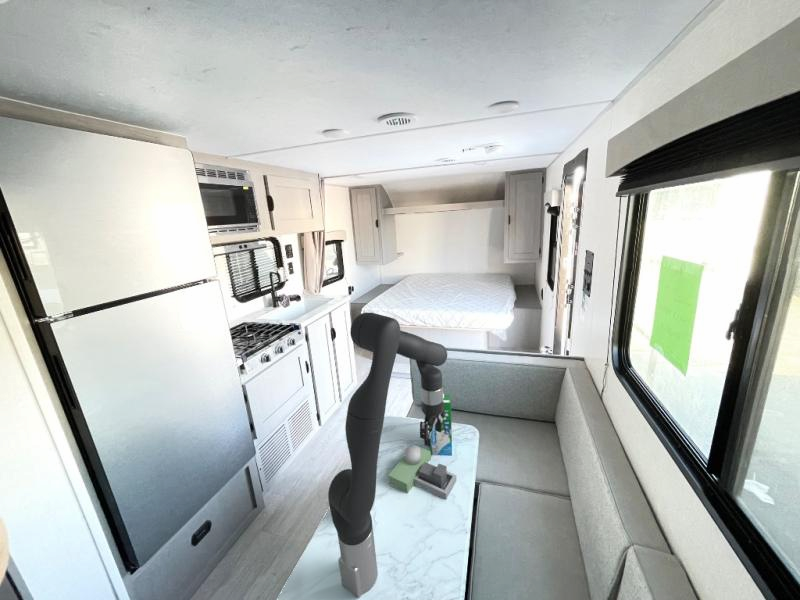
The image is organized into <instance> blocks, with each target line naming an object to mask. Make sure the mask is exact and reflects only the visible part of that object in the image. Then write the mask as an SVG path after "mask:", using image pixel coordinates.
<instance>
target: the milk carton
mask: <svg viewBox="0 0 800 600" xmlns="http://www.w3.org/2000/svg"><path fill="white" fill-rule="evenodd" d="M450 395H451V394H444V393H443V404H444V409H445V417H444V418H443V422H442V431H441V432H438V431H436V429H435V427H434V431H433V432H432V433H431V446H430V447H429V451H431V456H453V438H452V437H453V436H452V434H453V433H452V428H453V427H452V399H451V396H450ZM441 414H442V413H441ZM428 428H431V426H429V427H428Z"/></svg>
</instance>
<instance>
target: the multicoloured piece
mask: <svg viewBox="0 0 800 600" xmlns="http://www.w3.org/2000/svg"><path fill="white" fill-rule="evenodd" d="M431 456H432V455H431V451H430V450H427V449H425V448H423V447H420V446H418V445H416V444H412V445H408V446H406V448H405V450H404V455H403V457H402V458H401V459H400V460H399V462H398V463H397V464H396V466H395V467H394V468H393V469H392V470H391V472H390V473H389V474H388V483H389V485H390V484H391V485H390V486H392V485H393V486H392V487H394V486H395V488H396V487H397V489H398V488H399V490H400V489H401V491H402V490H403V491H402V492H404V491H405V493H406V492H407V493H406V494H409V492H410V491H411V489H412V488H413V486H414V485H415V484H416V485H415V486H417V485H418V486H417V487H419V486H420V487H419V488H421V487H422V488H421V489H423V488H424V489H423V490H425V489H426V490H425V491H427V490H429V491H428V492H429V493H432V494H434V495H435V496H438V497H441V498H442V497H443V499H444V500H447V499H448V497H449V495H450V493H451V491H452V490H453V488H454V487H455V484H456V482H457V474H454V473H452V472H450V471H447V480H449V481H448V484H447V486H446V487H445V489H444V488H443V489H441V488H438V487H436V486H434V485H432V484H430V483H428V482H425V481H423V480H421V479H419V470H420V468H421V467H422V465H423V464H424V462H426V463H428V462H429V461H430V462H431V460H432V459H431V458H432V457H431ZM430 462H429V463H428V464H430ZM413 484H414V485H413ZM411 487H412V488H411ZM409 490H410V491H409Z"/></svg>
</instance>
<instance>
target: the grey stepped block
mask: <svg viewBox="0 0 800 600" xmlns="http://www.w3.org/2000/svg"><path fill="white" fill-rule="evenodd" d="M447 472H448V471H447V465H444V464H441V463H438V464H437V466H436V465H433V464H431V463H429V464H428V463H426V462H424V464H423V465H422V467H421V468H420V470H419V479H421V480H423V481H425V482H428V483H430V484H432V485H434V486H436V487H438V488H441V489H443V490H444V488H445V486H446V484H447V482H448V481H447V480H448V479H447ZM443 487H444V488H443Z"/></svg>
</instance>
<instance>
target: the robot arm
mask: <svg viewBox="0 0 800 600" xmlns="http://www.w3.org/2000/svg"><path fill="white" fill-rule="evenodd" d="M349 333H350V337H351V340H352V342H353V343H354V345H355V346H357V347H359V348H360V349H363V350H365V351H368V352H371V353H372V361H371V366H370V369H369V373H368V374H367V376H366V378H365V379H364V380H363V382H362V383H361V384H360V385H359V387H358V388H357V389H356V390H355V391H354V393H353V394H352V396H351V397H350V400H349V401H348V406H347V411H346V418H345V426H344V427H345V428H344V429H345V438H346V444H347V449H348V453H349V457H350V458H349V459H350V465H351V466H350V467H351V468H347V469H343V470H340V471H339V472H338V473H336V475H334V477H333V478H332V480H331V483H330V484H329V488H328V493H327V496H328V497H327V498H328V499H327V500H328V504H329V505H328V506H329V510H330V514H331V519H332V523H333V525H334V528H335V530H336V533H337V539H338V544H339V545H338V547H339V553H340V557H338V560H337V561H338V566H339V573H340V574H339V575H340V579H341V585H342V586H343V587H344V588H346V589H347V590H348V591H349V592H350V593H352V594H353V595H354V596H355V597H357V598H360V597H361V596H362V594H365V593H367V592H369V590H371V589H372V588H373V587H374V585H375V584H376V582H377V579H378V574H379V573H378V564H377V555H376V554H377V553H376V546H375V537H374V527H373V520H372V518H373V517H372V515H371V511H372V509H373V506H374V503H375V499H376V493H377V492H376V489H377V474H378V473H377V472H378V461H379V451H380V444H381V437H382V432H383V426H384V421H385V415H386V406H387V400H388V394H389V393H388V392H389V387H390V381H391V379H392V372H393V368H394V364H395V361H396V358H397V355H399V356H402V357H404V358H407V359H410V360H414V361H415V362H416V365H417V369H418V371H419V372H418V373H419V374H420V383H421V385H420V386H421V388H420V401H421V404H420V406H421V407H420V409H421V411H422V413H423V415H424V420H423V421H420V422H419V438H420V439H423V441H424V444H423V445H424V446H425V447H427V448H430V446H431V433H432V432H433V431H434V427H435V429H436V431H438V432H441V431H442V422H443V418H444V417H445V409H444V404H443V394H444V389H443V373H442V371H441V370H440V369H439V368H438V367H440V366H443V365H444V364H445V363H446V361H447V359H448V351H447V348H446V347H445V346H444V345H442V344H441V343H437V342H434V341H431V340H427V339H425V338H423V337H421V336H419V335H417V334H413V333H411V332H406V331H403V330H401V325H400V323H399V321H398V320H397V319H396V318H394V317H391V316H388V315H387V316H386V315H383V314H379V313H375V312H362V313H360V314H358V315H357V316H356V317H355V318H354V320H353V321H352V323H351V325H350V331H349ZM441 413H442V414H441ZM429 426H431V428H429Z"/></svg>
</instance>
